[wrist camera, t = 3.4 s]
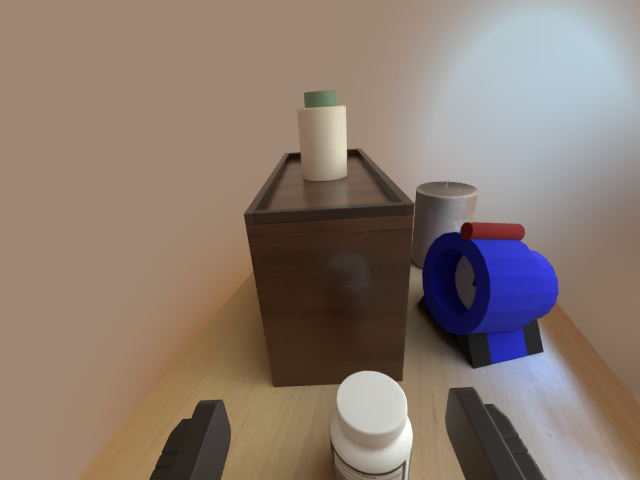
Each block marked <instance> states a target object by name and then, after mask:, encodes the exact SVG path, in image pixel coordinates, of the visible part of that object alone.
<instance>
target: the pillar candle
mask: <svg viewBox="0 0 640 480" xmlns="http://www.w3.org/2000/svg"><path fill="white" fill-rule="evenodd" d="M477 193H478V190H477V188H475V187H473V186H471V185H467V184H463V183H456V182H449V181H448V182H430V183H425V184H422V185H419V186H418V187H417V189H416V201H415V215H414V228H413V241H412V253H411V259H412V261H413V262H414V263H415V264H416V265H417V266H419V267H421V268H423V265H424V259H425V257H426V254H427V252H428V249H429V247H430V246H431V245H432V243H433V242H434V240H435V239H436V238H438V237H439V236H441V235H442V234H444V233H449V232H460V229H461V226H462V225H463V223H465V222H473V219H474V213H475V206H476V199H477Z"/></svg>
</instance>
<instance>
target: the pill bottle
mask: <svg viewBox="0 0 640 480" xmlns="http://www.w3.org/2000/svg"><path fill="white" fill-rule="evenodd" d="M330 442H331V455H332V466H333V478H334V480H409V470H410V460H411V452H412V443H413V433H412V427H411V424H410V421H409V418H408V416H407V400H406V396H405V394H404V392H403V390H402V388H401V387H400V386H399V385H398V383H397V382H395V381H394V380H393V379H392V378H390V377H389V376H387V375H385V374H382V373H379V372H375V371H361V372H357V373H354V374H352V375H350V376H349V377H347V378H346V379H345V380H344V381H343V382H342V383H341V385H340V386H339V388H338V391H337V394H336V408H335V409H334V411H333V414H332V417H331V421H330Z"/></svg>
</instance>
